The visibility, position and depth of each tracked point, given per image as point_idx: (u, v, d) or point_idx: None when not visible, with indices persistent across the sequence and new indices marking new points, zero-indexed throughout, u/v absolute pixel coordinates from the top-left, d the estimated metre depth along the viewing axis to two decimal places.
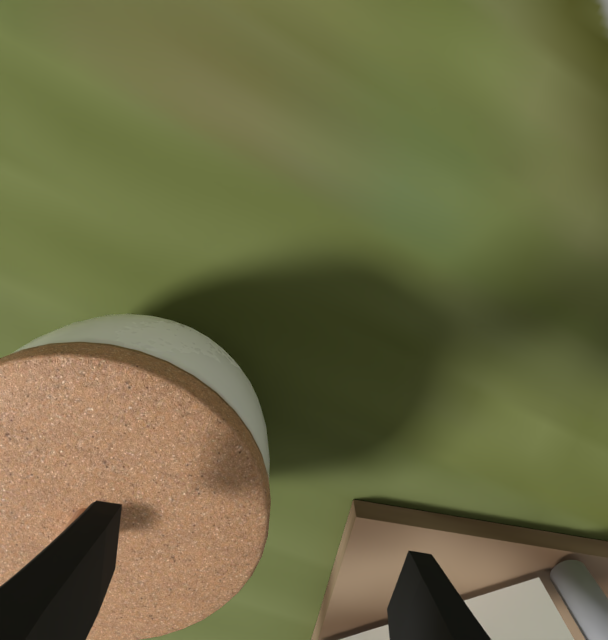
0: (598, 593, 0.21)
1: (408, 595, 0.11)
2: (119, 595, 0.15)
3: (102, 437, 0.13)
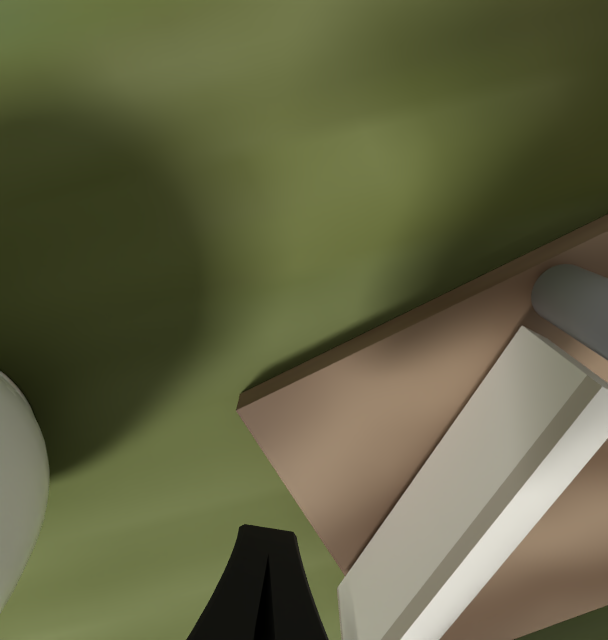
0: (588, 282, 0.12)
1: None
2: None
3: None
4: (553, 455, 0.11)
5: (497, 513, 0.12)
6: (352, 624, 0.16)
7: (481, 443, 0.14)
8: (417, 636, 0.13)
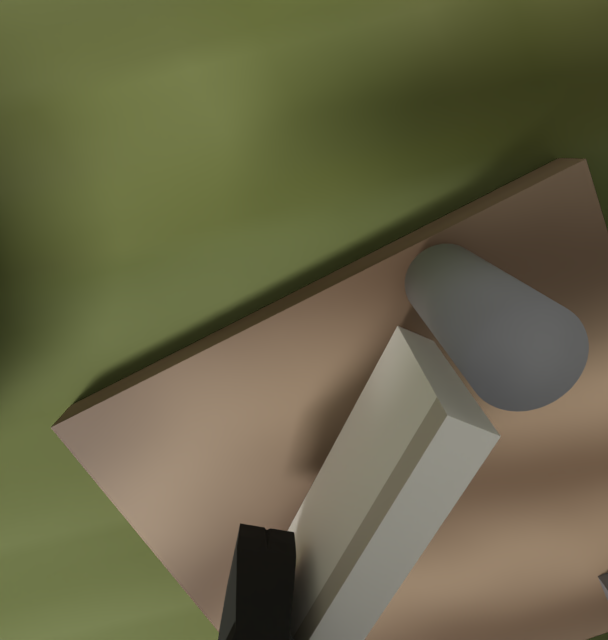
0: (450, 267, 0.09)
1: (231, 568, 0.11)
2: None
3: None
4: (397, 510, 0.08)
5: (338, 586, 0.09)
6: None
7: (344, 482, 0.11)
8: None
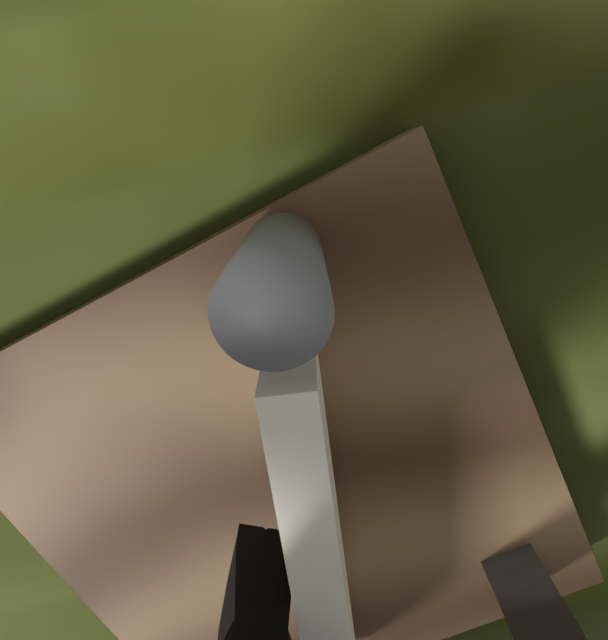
0: None
1: (231, 568, 0.11)
2: None
3: None
4: (282, 500, 0.08)
5: (290, 587, 0.09)
6: None
7: None
8: None
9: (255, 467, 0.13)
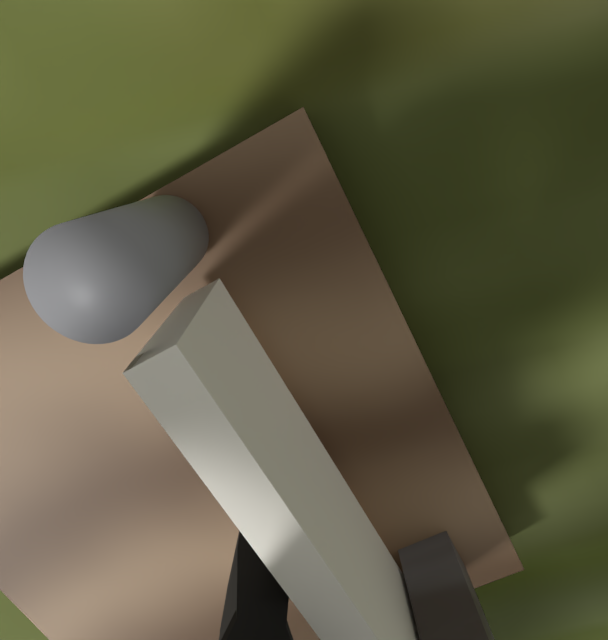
0: None
1: (232, 568, 0.11)
2: None
3: None
4: (201, 463, 0.08)
5: (256, 547, 0.09)
6: None
7: None
8: None
9: (163, 454, 0.13)
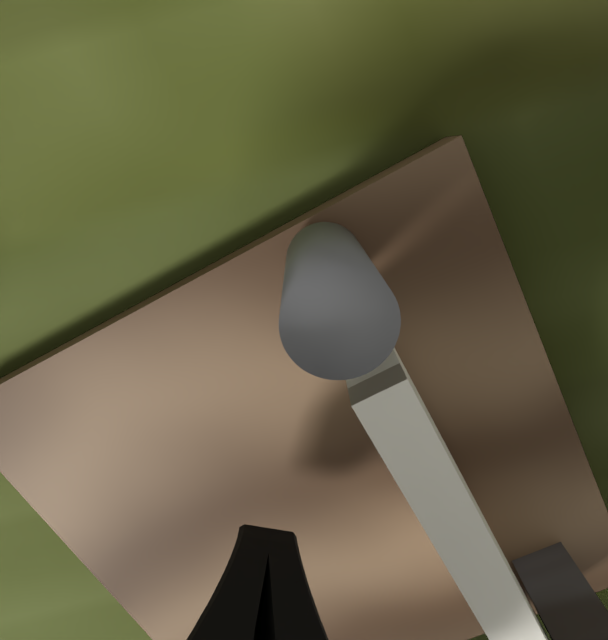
0: (284, 274, 0.09)
1: None
2: None
3: None
4: (411, 490, 0.08)
5: (448, 568, 0.09)
6: None
7: None
8: None
9: (291, 471, 0.14)
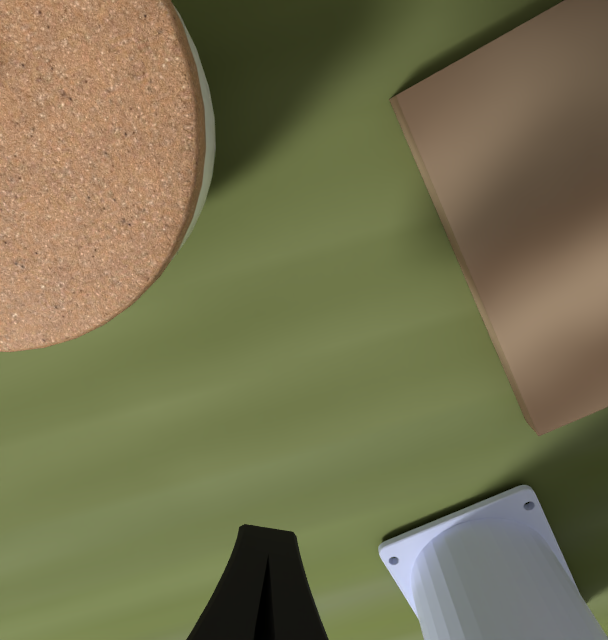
0: None
1: None
2: (62, 213, 0.10)
3: None
4: None
5: None
6: None
7: None
8: None
9: None
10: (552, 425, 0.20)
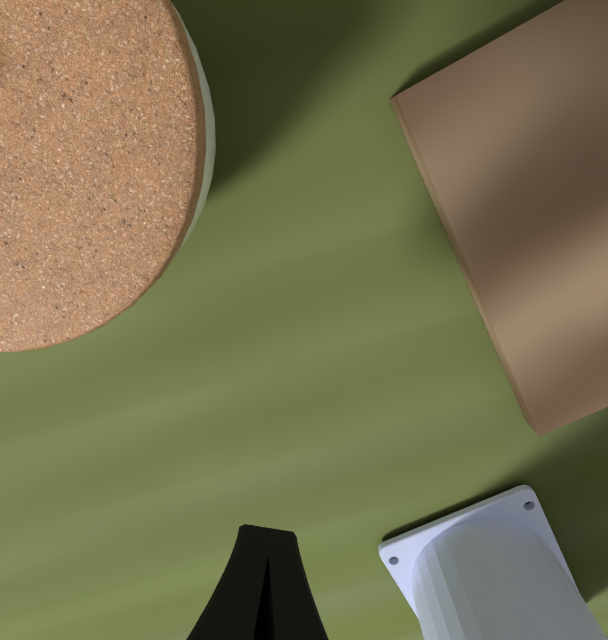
0: None
1: None
2: (63, 214, 0.10)
3: None
4: None
5: None
6: None
7: None
8: None
9: None
10: (552, 425, 0.20)
